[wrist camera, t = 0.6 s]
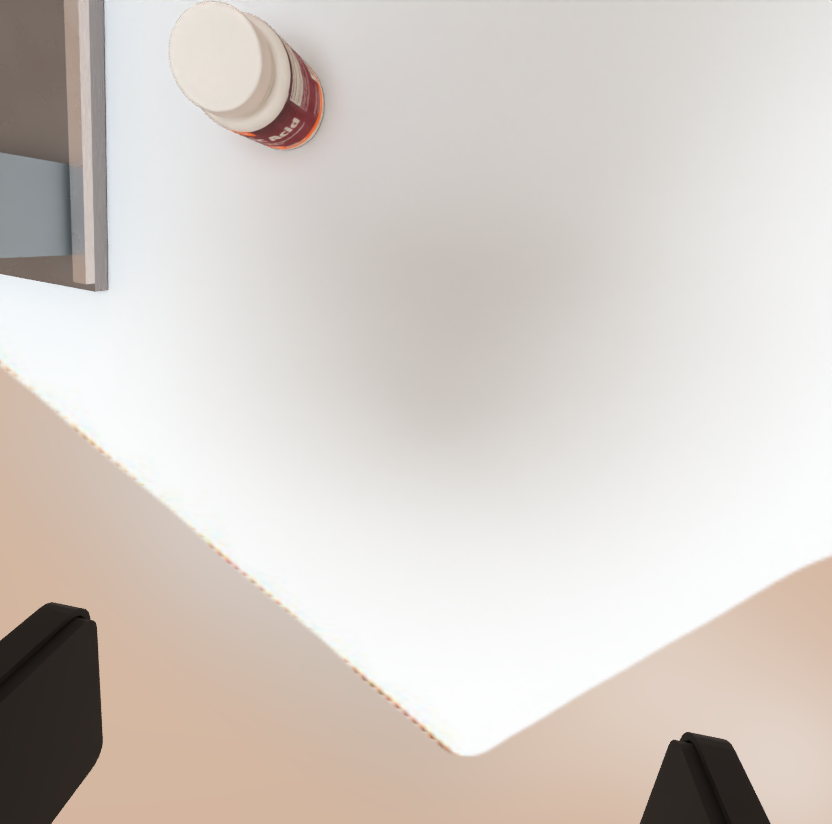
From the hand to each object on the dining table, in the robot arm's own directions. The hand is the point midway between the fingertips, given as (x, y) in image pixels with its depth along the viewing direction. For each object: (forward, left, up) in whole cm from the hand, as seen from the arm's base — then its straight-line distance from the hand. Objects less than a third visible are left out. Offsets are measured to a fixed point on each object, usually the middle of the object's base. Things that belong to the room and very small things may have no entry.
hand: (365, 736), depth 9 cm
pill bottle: (-13, -12, -27) cm, 32 cm away
